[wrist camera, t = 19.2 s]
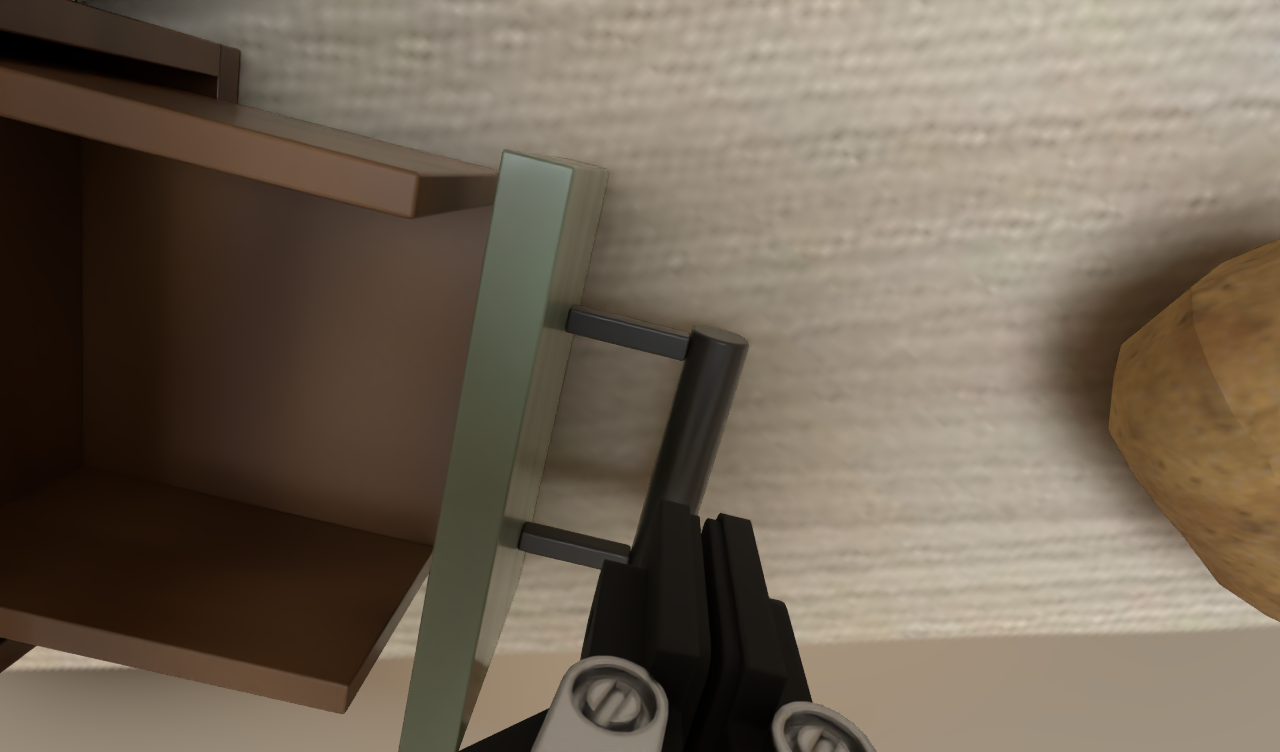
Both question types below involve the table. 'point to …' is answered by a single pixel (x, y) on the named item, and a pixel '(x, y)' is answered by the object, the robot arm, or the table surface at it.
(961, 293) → the table surface
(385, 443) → the drawer
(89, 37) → the cabinet
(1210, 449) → the potato
